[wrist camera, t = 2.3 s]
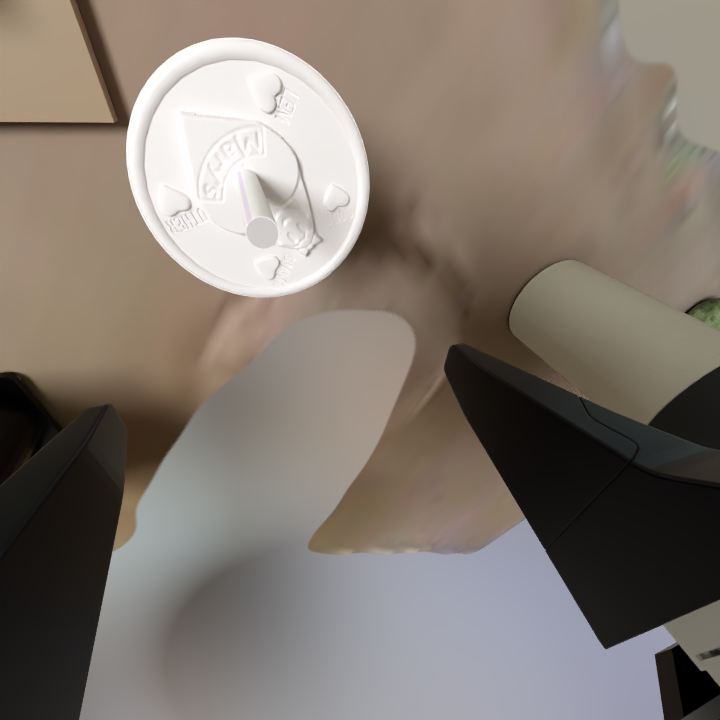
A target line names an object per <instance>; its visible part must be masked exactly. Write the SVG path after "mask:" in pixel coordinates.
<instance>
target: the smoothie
mask: <svg viewBox="0 0 720 720" xmlns="http://www.w3.org/2000/svg"><path fill="white" fill-rule="evenodd" d="M126 156H127V168H128V176H129V180H130V184H131V189H132V192H133V195H134V198H135V201H136V204H137V206H138V208H139V211H140V213H141V215H142V217H143V219H144V221H145V222H146V224H147V226H148V228H149V229H150V231H151V232H152V234H153V235H154V237H155V238H156V240H157V241H158V242H159V243H160V245H161V246H162V247H163V248H164V250H165V251H166V252H167V253H168V254H169V255H170V256H171V257H172V258H173V259H174V260H175V261H176V262H177V263H179V264H180V265H181V266H182V267H183V268H185V269H186V270H187V271H189V272H190V273H191V274H193V275H194V276H196V277H197V278H199V279H201V280H202V281H204V282H206V283H208V284H210V285H212V286H214V287H217V288H219V289H222V290H225V291H228V292H231V293H235V294H239V295H244V296H250V297H277V296H283V295H289V294H292V293H296V292H299V291H301V290H304V289H306V288H309V287H311V286H313V285H315V284H316V283H318V282H320V281H321V280H323V279H324V278H325V277H327V276H328V275H329V274H331V273H332V272H333V271H334V270H335V269H336V268H337V267H338V266H339V265H340V264H341V263H342V262H343V260H344V259H345V258H346V257H347V255H348V254H349V252H350V251H351V249H352V248H353V246H354V244H355V243H356V241H357V239H358V237H359V234H360V232H361V230H362V227H363V224H364V221H365V217H366V213H367V208H368V201H369V190H370V182H369V167H368V161H367V155H366V151H365V147H364V144H363V140H362V137H361V135H360V132H359V129H358V127H357V125H356V123H355V120H354V118H353V116H352V115H351V113H350V111H349V109H348V108H347V106H346V104H345V103H344V101H343V100H342V99H341V97H340V96H339V94H338V93H337V92H336V91H335V89H334V88H333V87H332V86H331V85H330V83H329V82H328V81H327V80H326V79H325V78H324V77H323V76H322V75H321V74H320V73H319V72H317V71H316V70H315V69H314V68H312V67H311V66H310V65H309V64H307V63H306V62H304V61H303V60H301V59H300V58H298V57H297V56H295V55H293V54H291V53H289V52H287V51H286V50H284V49H282V48H279V47H276V46H274V45H271V44H268V43H265V42H261V41H257V40H253V39H244V38H220V39H211V40H207V41H204V42H201V43H197V44H194V45H192V46H190V47H188V48H185V49H183V50H181V51H179V52H177V53H176V54H175V55H173V56H172V57H170V58H169V59H168V60H167V61H165V62H164V63H163V64H162V65H161V66H160V67H159V68H158V69H157V70H156V71H155V72H154V73H153V75H152V76H151V77H150V78H149V79H148V81H147V82H146V84H145V86H144V87H143V89H142V90H141V92H140V94H139V96H138V98H137V101H136V103H135V105H134V108H133V111H132V114H131V117H130V122H129V127H128V132H127V144H126Z"/></svg>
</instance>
